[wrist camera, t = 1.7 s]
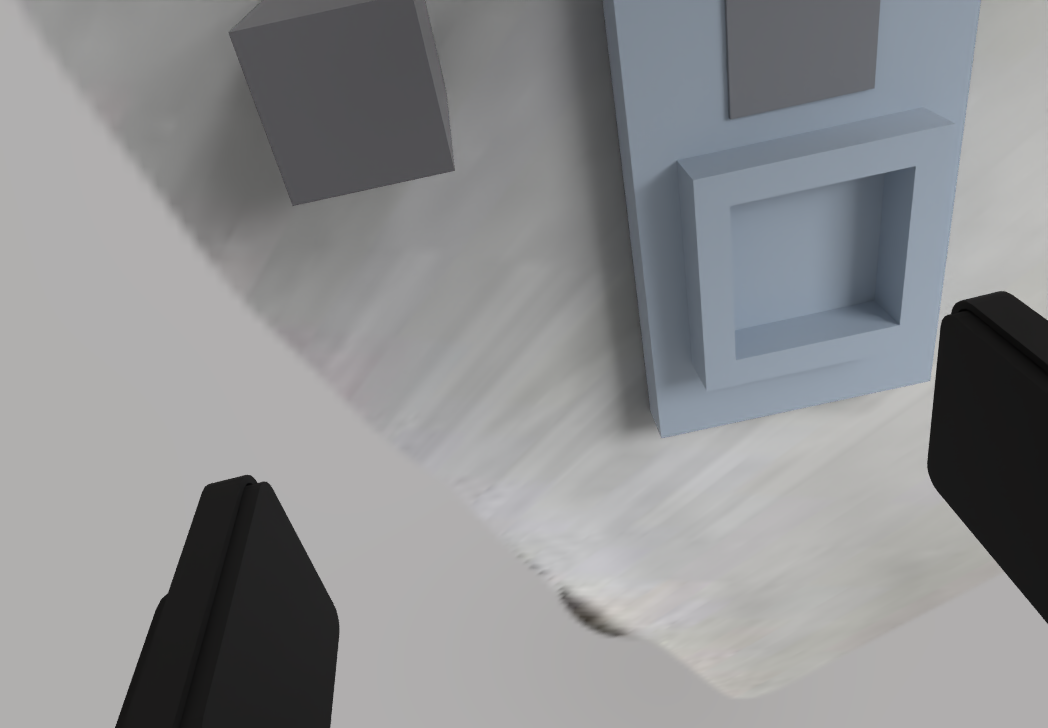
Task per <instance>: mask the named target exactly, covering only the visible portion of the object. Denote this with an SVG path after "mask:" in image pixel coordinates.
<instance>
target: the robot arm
mask: <svg viewBox="0 0 1048 728" xmlns="http://www.w3.org/2000/svg"><path fill="white" fill-rule="evenodd" d="M927 468H928V473H929V476H930V479H931V481H932V483H933V485H934V487H935V488H936V490H937V491H938V492H939V494H940V495H941V496H942V497H943V498H944V500H945V501H946V502H947V503H948V504H949V506H950V507H951V508H952V509H953V510H954V512H955V513H956V514H957V515H958V516H959V518H960V519H961V520H962V521H963V522H964V524H965V525H966V526H967V527H968V528H969V530H970V531H971V532H972V533H973V534H974V536H975V537H976V538H977V539H978V540H979V542H980V543H981V544H982V545H983V546H984V548H985V549H986V550H987V551H988V552H989V554H990V555H991V556H992V557H993V558H994V560H995V561H996V562H997V563H998V564H999V566H1000V567H1001V568H1002V569H1003V570H1004V572H1005V573H1006V574H1007V575H1008V577H1009V578H1010V579H1011V580H1012V581H1013V583H1014V584H1015V585H1016V586H1017V587H1018V588H1019V590H1020V591H1021V592H1022V593H1023V595H1024V596H1025V597H1026V598H1027V599H1028V600H1029V602H1030V603H1031V604H1032V605H1033V606H1034V608H1035V609H1036V610H1037V611H1038V613H1039V614H1040V615H1041V616H1042V617H1043V619H1044V620H1045V621H1046V622H1047V623H1048V320H1046V319H1045V318H1044V317H1042V316H1041V315H1039V314H1038V313H1037V312H1035V311H1034V310H1032V309H1031V308H1030V307H1028V306H1027V305H1026V304H1024V303H1023V302H1021V301H1020V300H1019V299H1017V298H1016V297H1014V296H1013V295H1012V294H1010V293H1007V292H1004V291H999V292H995V293H991V294H987V295H982V296H978V297H974V298H970V299H966V300H962V301H959V302H958V303H956V304H955V305H954V307H953V309H952V312H951V314H950V315H947V316H945V317H944V318H943V320H942V323H941V328H940V339H939V349H938V359H937V369H936V379H935V390H934V400H933V410H932V420H931V431H930V441H929V451H928V461H927ZM338 642H339V620H338V615H337V611H336V608H335V606H334V605H333V602H332V600H331V598H330V596H329V595H328V593H327V591H326V589H325V587H324V585H323V583H322V581H321V579H320V577H319V576H318V574H317V572H316V570H315V568H314V566H313V564H312V562H311V560H310V559H309V557H308V555H307V553H306V551H305V549H304V547H303V545H302V544H301V541H300V540H299V538H298V536H297V534H296V532H295V530H294V528H293V526H292V524H291V523H290V521H289V519H288V517H287V515H286V513H285V511H284V509H283V507H282V506H281V504H280V502H279V500H278V498H277V496H276V494H275V492H274V490H273V489H272V487H271V486H270V484H269V483H267V482H260V483H257V481H256V480H255V479H254V478H253V477H252V476H251V475H244V476H240V477H236V478H232V479H228V480H224V481H220V482H216V483H211V484H208V485H207V486H205V488H204V490H203V492H202V494H201V497H200V500H199V503H198V506H197V509H196V512H195V515H194V518H193V521H192V524H191V527H190V530H189V533H188V536H187V539H186V542H185V545H184V548H183V551H182V554H181V557H180V559H179V562H178V565H177V568H176V572H175V574H174V577H173V580H172V583H171V587H170V589H169V592H168V594H167V595H166V596H164V597H163V598H162V599H161V601H160V603H159V605H158V607H157V609H156V611H155V614H154V617H153V620H152V622H151V625H150V628H149V631H148V634H147V637H146V640H145V643H144V646H143V648H142V651H141V654H140V657H139V660H138V663H137V666H136V669H135V672H134V675H133V677H132V681H131V683H130V686H129V689H128V692H127V695H126V698H125V700H124V703H123V707H122V709H121V712H120V715H119V718H118V721H117V724H116V726H115V728H330V724H331V714H332V703H333V692H334V682H335V672H336V662H337V651H338Z"/></svg>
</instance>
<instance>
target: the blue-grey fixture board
mask: <svg viewBox="0 0 1048 728" xmlns="http://www.w3.org/2000/svg"><path fill="white" fill-rule="evenodd" d="M980 3H981V0H603V8H604V17H605V26H606V34H607V43H608V51H609V60H610V69H611V77H612V86H613V94H614V103H615V112H616V120H617V129H618V137H619V146H620V155H621V163H622V172H623V180H624V189H625V197H626V206H627V215H628V223H629V232H630V240H631V249H632V258H633V266H634V275H635V283H636V292H637V301H638V309H639V318H640V326H641V335H642V344H643V352H644V361H645V369H646V378H647V387H648V395H649V404H650V411H651V414H652V416H653V419H654V421H655V424H656V426H657V429H658V431H659V434H660V436H661V438H665V437H670V436H674V435H679V434H684V433H688V432H693V431H698V430H702V429H707V428H712V427H717V426H721V425H726V424H731V423H735V422H740V421H745V420H749V419H754V418H759V417H763V416H768V415H773V414H777V413H782V412H787V411H791V410H796V409H801V408H806V407H810V406H815V405H820V404H824V403H829V402H834V401H838V400H843V399H848V398H852V397H857V396H862V395H866V394H871V393H876V392H881V391H885V390H890V389H895V388H899V387H904V386H909V385H913V384H918V383H923V382H927V381H930V378H931V371H932V363H933V356H934V348H935V341H936V333H937V326H938V318H939V311H940V303H941V296H942V288H943V281H944V273H945V266H946V258H947V251H948V243H949V236H950V228H951V221H952V213H953V206H954V198H955V191H956V183H957V176H958V168H959V161H960V153H961V146H962V138H963V131H964V123H965V116H966V108H967V101H968V93H969V86H970V78H971V71H972V63H973V56H974V48H975V41H976V33H977V26H978V18H979V11H980Z"/></svg>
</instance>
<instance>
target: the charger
mask: <svg viewBox="0 0 1048 728" xmlns="http://www.w3.org/2000/svg"><path fill="white" fill-rule="evenodd" d="M229 35H230V38H231V40H232V43H233V46H234V48H235V51H236V54H237V57H238V59H239V62H240V65H241V67H242V70H243V73H244V75H245V78H246V81H247V83H248V86H249V89H250V92H251V94H252V97H253V100H254V102H255V105H256V108H257V110H258V113H259V116H260V118H261V121H262V124H263V127H264V129H265V132H266V135H267V137H268V140H269V143H270V145H271V148H272V151H273V154H274V156H275V159H276V162H277V164H278V167H279V170H280V172H281V175H282V178H283V180H284V183H285V186H286V189H287V191H288V194H289V197H290V199H291V202H292V205H293V206H294V205H299V204H304V203H308V202H313V201H317V200H322V199H327V198H331V197H336V196H340V195H345V194H350V193H354V192H359V191H363V190H368V189H373V188H377V187H382V186H386V185H391V184H396V183H400V182H405V181H409V180H414V179H419V178H423V177H428V176H432V175H437V174H442V173H446V172H451V171H455V168H454V159H453V149H452V139H451V130H450V120H449V111H448V101H447V92H446V88H445V84H444V80H443V75H442V71H441V67H440V62H439V58H438V54H437V50H436V45H435V41H434V37H433V32H432V28H431V24H430V20H429V15H428V11H427V7H426V3H425V0H262V1H261V2H260V3H259V4H258V5H257V6H256V7H255V8H254V9H253V10H252V11H251V12H250V13H249V14H248V15H247V16H245V17H244V18H243V19H242V20H241V21H240V22H239V23H238V24H237V25H236V26H235V27H234V28H233V29H232V30H231V31H230V32H229Z"/></svg>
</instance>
